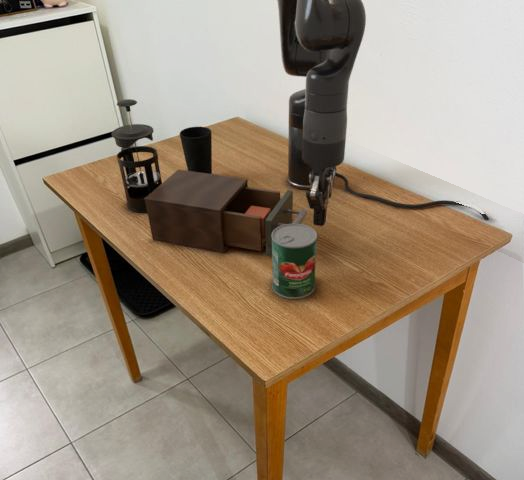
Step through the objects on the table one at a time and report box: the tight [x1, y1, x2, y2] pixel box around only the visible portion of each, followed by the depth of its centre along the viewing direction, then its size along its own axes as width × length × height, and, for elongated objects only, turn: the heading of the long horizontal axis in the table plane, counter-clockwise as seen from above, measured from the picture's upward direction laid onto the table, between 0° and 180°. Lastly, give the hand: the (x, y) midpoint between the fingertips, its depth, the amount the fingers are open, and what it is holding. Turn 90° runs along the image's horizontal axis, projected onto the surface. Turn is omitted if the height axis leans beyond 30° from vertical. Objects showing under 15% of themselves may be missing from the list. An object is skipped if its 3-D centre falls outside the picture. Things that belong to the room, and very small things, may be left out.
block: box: [245, 206, 271, 237], centre depth 104 cm, size 4×4×4 cm
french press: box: [111, 98, 163, 214], centre depth 113 cm, size 12×9×23 cm
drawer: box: [222, 186, 308, 257], centre depth 104 cm, size 20×13×8 cm
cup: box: [179, 126, 213, 174], centre depth 125 cm, size 8×8×12 cm
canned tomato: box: [271, 223, 318, 300], centre depth 90 cm, size 8×8×11 cm
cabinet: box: [144, 169, 249, 254], centre depth 107 cm, size 17×15×10 cm
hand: (319, 223), depth 99 cm, fingers closed
